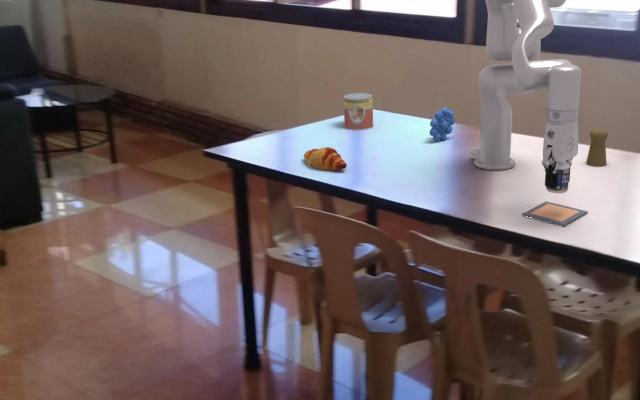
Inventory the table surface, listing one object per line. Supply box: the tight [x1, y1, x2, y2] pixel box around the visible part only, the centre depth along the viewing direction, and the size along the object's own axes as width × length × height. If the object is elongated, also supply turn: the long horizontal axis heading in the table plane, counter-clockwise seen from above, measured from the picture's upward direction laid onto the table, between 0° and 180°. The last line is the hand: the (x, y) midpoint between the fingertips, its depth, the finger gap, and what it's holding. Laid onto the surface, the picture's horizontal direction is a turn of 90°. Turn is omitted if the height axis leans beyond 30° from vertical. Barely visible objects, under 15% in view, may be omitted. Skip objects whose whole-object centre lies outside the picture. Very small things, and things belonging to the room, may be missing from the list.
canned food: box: [342, 92, 374, 131], centre depth 286 cm, size 11×11×12 cm
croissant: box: [303, 146, 348, 172], centre depth 241 cm, size 21×10×8 cm, turn 39°
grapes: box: [429, 106, 456, 142], centre depth 262 cm, size 12×7×12 cm, turn 124°
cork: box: [585, 128, 609, 168], centre depth 230 cm, size 6×6×11 cm
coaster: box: [521, 200, 589, 227], centre depth 193 cm, size 12×12×1 cm
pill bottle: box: [545, 158, 571, 194], centre depth 189 cm, size 5×5×10 cm
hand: (557, 183), depth 190 cm, fingers closed on pill bottle, 5 cm apart
